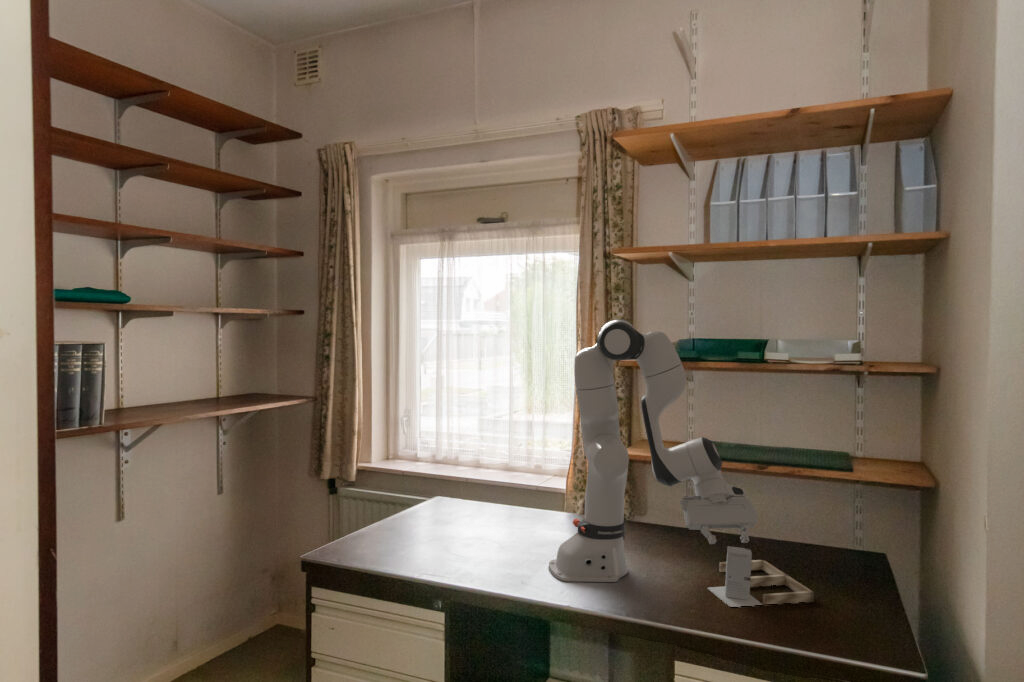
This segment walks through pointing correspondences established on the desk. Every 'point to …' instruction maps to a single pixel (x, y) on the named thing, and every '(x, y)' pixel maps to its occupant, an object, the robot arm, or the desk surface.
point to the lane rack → (776, 579)
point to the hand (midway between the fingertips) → (729, 542)
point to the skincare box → (738, 573)
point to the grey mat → (733, 601)
